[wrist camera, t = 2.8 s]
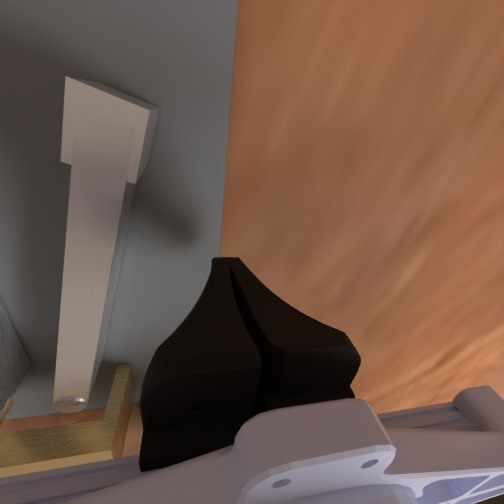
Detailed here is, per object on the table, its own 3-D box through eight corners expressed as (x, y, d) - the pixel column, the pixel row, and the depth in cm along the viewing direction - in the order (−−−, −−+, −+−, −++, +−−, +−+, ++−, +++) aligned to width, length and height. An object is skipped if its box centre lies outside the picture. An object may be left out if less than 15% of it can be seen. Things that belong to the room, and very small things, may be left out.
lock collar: (-1, 405, 17) (-65, 508, 13) (-19, 377, 15) (-99, 484, 11) (134, 389, 19) (118, 474, 15) (130, 363, 17) (110, 450, 13)
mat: (-90, 423, 17) (-99, 433, 16) (-945, -396, 4) (-1104, -466, 4) (208, 387, 22) (209, 394, 21) (239, -46, 9) (242, -55, 8)
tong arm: (68, 364, 16) (45, 413, 14) (99, 81, 9) (65, 75, 7) (105, 366, 17) (91, 413, 15) (160, 107, 10) (149, 110, 8)
